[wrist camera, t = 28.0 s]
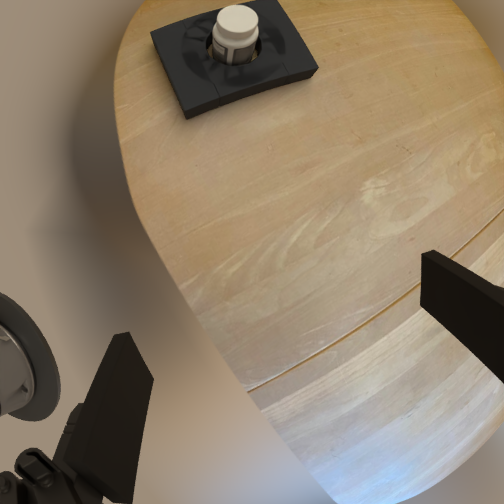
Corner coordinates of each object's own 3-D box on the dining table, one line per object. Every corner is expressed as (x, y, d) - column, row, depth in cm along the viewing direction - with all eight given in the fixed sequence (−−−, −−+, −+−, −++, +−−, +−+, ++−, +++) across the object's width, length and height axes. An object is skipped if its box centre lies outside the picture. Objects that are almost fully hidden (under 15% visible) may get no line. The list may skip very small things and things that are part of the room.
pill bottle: (255, 47, 31) (268, 8, 22) (245, 76, 31) (255, 41, 23) (218, 37, 30) (222, -2, 22) (206, 67, 30) (206, 29, 22)
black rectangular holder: (186, 119, 31) (184, 111, 28) (153, 43, 29) (149, 31, 26) (311, 77, 32) (319, 67, 29) (270, 9, 30) (274, -4, 27)
